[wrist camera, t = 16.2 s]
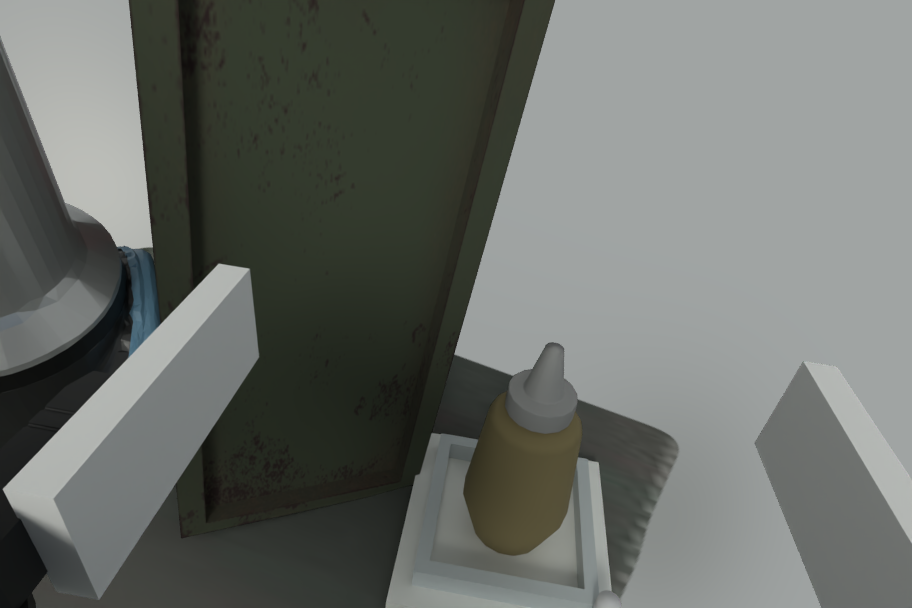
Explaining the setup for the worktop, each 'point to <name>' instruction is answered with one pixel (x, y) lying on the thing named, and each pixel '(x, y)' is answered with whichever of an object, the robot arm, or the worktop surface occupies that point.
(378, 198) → the first aid box
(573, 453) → the squeeze bottle
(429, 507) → the holder plate
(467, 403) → the worktop surface
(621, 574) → the worktop surface
